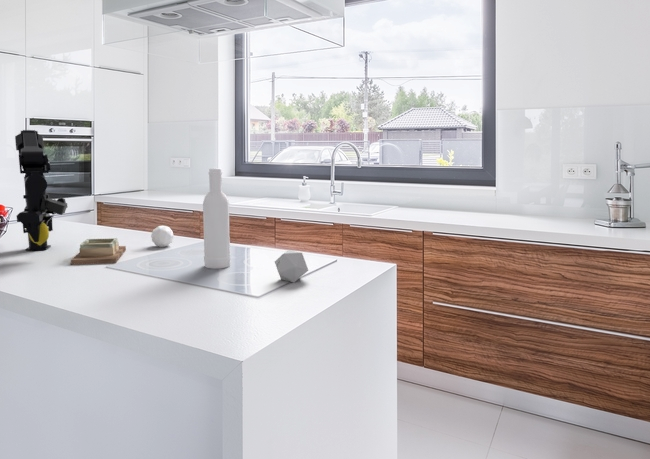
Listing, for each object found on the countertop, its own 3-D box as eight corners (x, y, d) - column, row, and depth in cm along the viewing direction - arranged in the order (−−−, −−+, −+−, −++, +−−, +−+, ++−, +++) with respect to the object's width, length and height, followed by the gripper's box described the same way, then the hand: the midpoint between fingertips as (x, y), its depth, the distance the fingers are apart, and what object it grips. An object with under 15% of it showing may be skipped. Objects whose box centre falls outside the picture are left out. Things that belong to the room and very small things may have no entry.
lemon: (41, 247, 162) (39, 222, 161) (25, 246, 163) (23, 221, 162) (53, 244, 168) (51, 219, 166) (38, 243, 169) (36, 218, 167)
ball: (164, 254, 188) (160, 240, 182) (149, 244, 191) (144, 230, 185) (179, 242, 192) (176, 227, 187) (164, 232, 195) (160, 217, 190)
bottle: (230, 268, 157) (228, 169, 152) (203, 269, 156) (200, 168, 151) (230, 262, 165) (228, 167, 160) (205, 263, 164) (202, 167, 159)
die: (282, 276, 151) (266, 253, 146) (309, 261, 151) (294, 237, 146) (288, 294, 144) (271, 270, 139) (316, 278, 144) (301, 254, 139)
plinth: (86, 251, 179) (85, 236, 178) (125, 250, 182) (125, 235, 181) (71, 264, 160) (69, 248, 159) (115, 263, 163) (115, 246, 162)
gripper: (55, 194, 155) (58, 245, 158) (71, 188, 173) (74, 234, 176) (13, 194, 153) (18, 246, 156) (34, 188, 171) (38, 235, 174)
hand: (39, 240), depth 165 cm, fingers closed on lemon, 5 cm apart
